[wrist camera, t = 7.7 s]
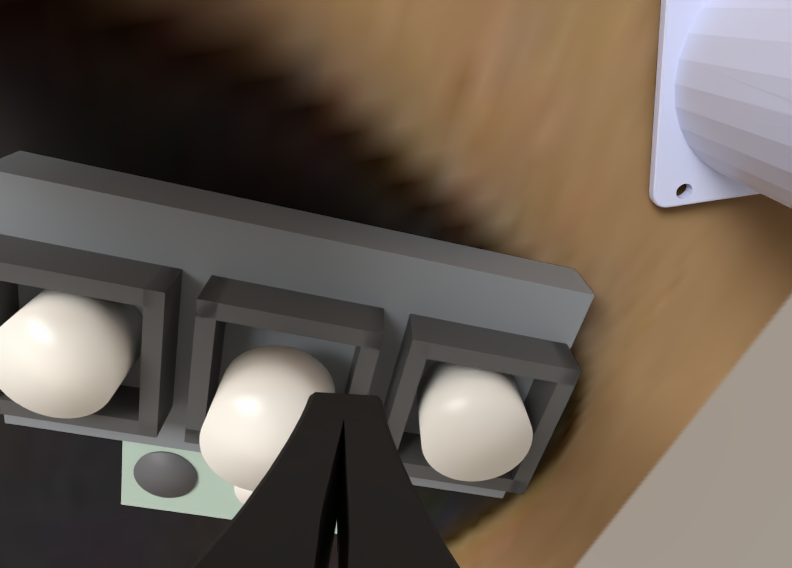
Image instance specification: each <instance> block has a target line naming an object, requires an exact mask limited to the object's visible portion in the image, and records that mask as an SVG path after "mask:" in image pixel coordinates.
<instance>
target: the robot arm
mask: <svg viewBox="0 0 792 568" xmlns="http://www.w3.org/2000/svg"><path fill="white" fill-rule="evenodd" d="M683 184H686V186H687V187H686V190H685V191H684V192H683V193H682V194H680V195H676V191H677V189H678V188H679V187H680V186H681V185H683ZM754 194H763V195H765V196H767V197H769V198H771V199H773V200H775V201H777V202H779V203H781V204H783V205H785V206H787V207H789V208H791V209H792V0H661V13H660V28H659V44H658V60H657V76H656V92H655V107H654V123H653V139H652V155H651V170H650V186H649V196H650V199H651V200H652V202H653V203H655V204H656V205H658V206H660V207H666V208H667V207H674V206H681V205H688V204H694V203H701V202H708V201H714V200H721V199H728V198H734V197H741V196H748V195H754ZM336 523H337V559H338V568H460V567H459V565H458V564H457V562H456V561H455V559H454V558H453V556H452V554H451V553H450V551H449V550H448V548H447V547H446V545H445V543H444V542H443V540H442V538H441V537H440V535H439V533H438V532H437V530H436V528H435V526H434V525H433V523H432V521H431V519H430V517H429V516H428V514H427V512H426V510H425V508H424V506H423V504H422V502H421V501H420V499H419V497H418V495H417V493H416V491H415V489H414V487H413V485H412V482H411V480H410V478H409V476H408V474H407V471H406V469H405V467H404V465H403V462H402V460H401V458H400V456H399V453H398V451H397V448H396V446H395V443H394V440H393V437H392V435H391V432H390V429H389V426H388V423H387V419H386V416H385V412H384V408H383V402H382V400H381V399H380V398H379V397H378V396H376V395H359V394H342V393H325V392H314V393H313V394H312V395H310V396H309V398H308V401H307V404H306V406H305V408H304V410H303V413H302V415H301V417H300V419H299V421H298V422H297V424H296V426H295V428H294V430H293V432H292V433H291V435H290V437H289V439H288V440H287V442H286V444H285V445H284V447H283V448H282V450H281V451H280V453H279V455H278V456H277V458H276V459H275V461H274V463H273V464H272V466H271V467H270V469H269V470H268V472H267V473H266V475H265V476H264V477H263V479H262V480H261V482H260V483H259V484H258V486H257V487H256V488H255V490H254V491H253V493H252V494H251V495H250V497H249V498H248V499H247V501H246V502H245V504H244V505H243V506H242V508H241V509H240V510H239V511H238V513H237V514H236V515H235V516H234V518H233V519H232V520H231V521H230V523H229V524H228V525H227V526H226V528H225V529H224V530H223V531H222V532H221V534H220V535H219V536H218V537H217V538H216V539H215V540H214V542H213V543H212V544H211V545H210V546H209V547H208V549H207V550H206V551H205V552H204V553H203V554H202V555H201V556H200V557H199V559H198V560H197V561H196V562H195V563H194V564H193V565H192V566H191V567H190V568H329V564H330V558H331V552H332V546H333V541H334V535H335V529H336Z"/></svg>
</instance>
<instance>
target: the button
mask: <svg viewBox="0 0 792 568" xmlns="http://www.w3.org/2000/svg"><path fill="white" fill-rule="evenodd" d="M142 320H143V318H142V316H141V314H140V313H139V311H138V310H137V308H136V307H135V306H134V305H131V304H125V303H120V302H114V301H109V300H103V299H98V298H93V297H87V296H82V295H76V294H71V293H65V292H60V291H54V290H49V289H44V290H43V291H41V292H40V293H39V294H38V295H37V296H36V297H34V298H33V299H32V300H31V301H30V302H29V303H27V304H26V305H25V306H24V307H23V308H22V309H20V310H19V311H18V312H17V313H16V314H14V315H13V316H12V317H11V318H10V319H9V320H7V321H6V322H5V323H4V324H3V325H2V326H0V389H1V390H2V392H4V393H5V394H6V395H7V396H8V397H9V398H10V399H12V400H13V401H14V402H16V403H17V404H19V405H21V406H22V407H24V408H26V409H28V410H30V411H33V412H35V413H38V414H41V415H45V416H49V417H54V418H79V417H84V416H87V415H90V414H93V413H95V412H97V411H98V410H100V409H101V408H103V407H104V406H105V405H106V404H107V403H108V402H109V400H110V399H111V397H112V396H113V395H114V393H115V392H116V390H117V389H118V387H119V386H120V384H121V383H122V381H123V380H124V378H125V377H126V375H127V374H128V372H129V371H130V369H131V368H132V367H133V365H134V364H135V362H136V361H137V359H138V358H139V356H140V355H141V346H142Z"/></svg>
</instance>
